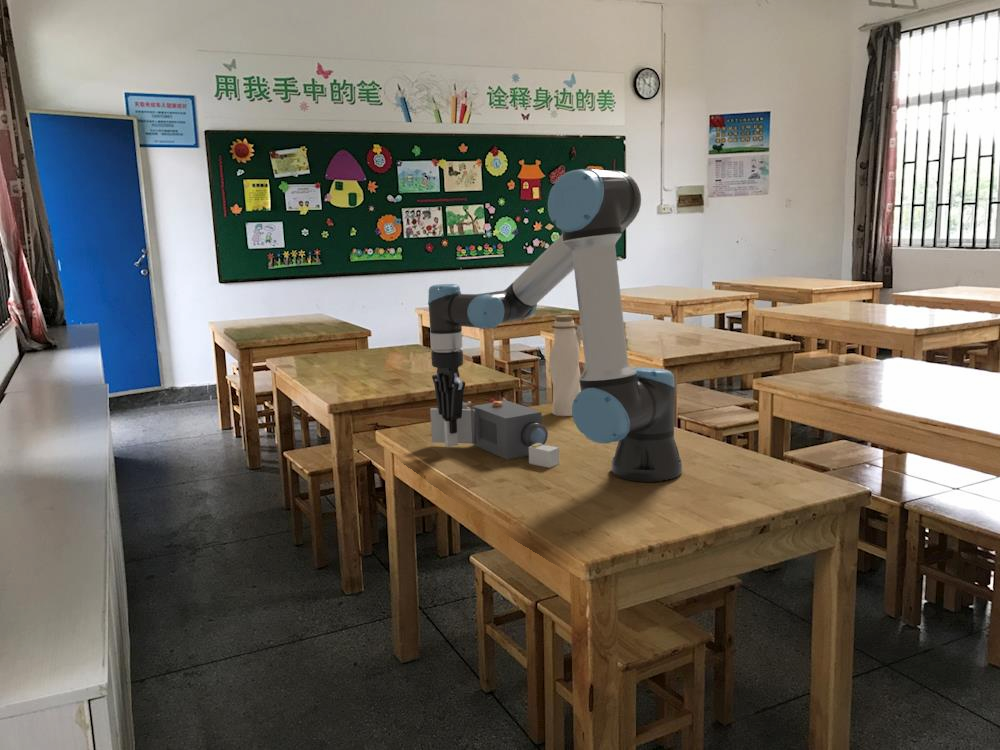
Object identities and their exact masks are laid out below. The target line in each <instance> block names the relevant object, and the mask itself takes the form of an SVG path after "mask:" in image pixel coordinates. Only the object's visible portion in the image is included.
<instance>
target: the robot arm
mask: <svg viewBox="0 0 1000 750" xmlns="http://www.w3.org/2000/svg"><path fill="white" fill-rule="evenodd" d="M547 198H548V200H547V211H548V216H549V218H550V221H551V222H552V223H553V224H555V226H556V228H557V229H560V230H561V235H560V236H559V237H558V238H557V239H556V240H555V241H554V242H553V243H551V244H550V246H548V248H547V249H545V250H544V252H542V253H541V254H540V255H539V256H538V257H537V259H535V260H533V262H532V263H531V264H530V265H529V266H528V267H527V268H526V269H525V270H524V271H523V272H522V273H521V274H520V275H519V276H518V277H516V279H515V280H514V281H513V282H512V283H511V284H510V285H509V286H508V287H506V288H505V289H504V290H499V291H497V290H496V291H490V292H485V293H477V294H476V293H475V294H473V293H465V294H464V293H462V291H461V286H460V285H458V284H456V283H443V284H440V283H439V284H434V285H431V286H429V288H428V298H427V299H428V302H427V305H428V315H429V329H430V331H429V338H430V339H429V340H430V349H431V350H432V351H431V357H430V358H431V366H432V368H437V370H436V374H434V375H432V376H431V377H432V383H433V384H434V390H435V398H436V404H437V405H436V406H437V408H438V411H439V415H442V418H443V419H444V433H445V443H444V446H445V447H447V448H448V447H449V448H450V447H455V446H459V443H458V437H457V419H459V418H462V405H463V402H464V391H465V387H466V382H465V381H464V380H461V379H460V372H459V371H460V370H459V367H461V366H463V365H464V350H462V347H463V337H464V334H462V331H463V328H462V327H469V328H478V329H480V330H481V329H482V330H484V329H494V328H497V327H498V326H499V325H500V324H504V323H509V322H510V323H511V322H514V321H516V322H518V321H523V320H525V319H528V318H530V317H531V316H533V315H534V314H535V312H536V308H537V307H538V303H539V302H540V301H541V300H543V299H544V297H546V296H547V295H548V294H549V293H550V292H551V291H552V290H553V289H554V288H555V287H557V286H558V285H559V284H560V283H561V282H562V281H563V280H564V279H566V277H567V276H569V275H570V274H571V273H572V272H573V271H574V279H575V287H576V288H575V289H576V297H577V305H578V313H579V314H578V315H579V322H580V326H581V338H582V339H581V342H582V347H583V348H582V349H583V355H584V356H583V357H584V358H583V359H584V365H585V367H584V370H583V372H582V373H580V377H579V381H580V389H581V392H579V393H578V395H577V396H576V398H575V400H574V401H573V404H572V416H571V417H572V420H573V422H574V424H575V426H576V428H577V429H578V430H579V432H580V433H581V434H583V436H584V437H585V438H586V439H588V440H590V441H592V442H594V443H597V444H604V445H605V444H610V443H613V442H615V443H616V442H617V446H616V449H615V453H614V455H613V458H612V460H611V472H612V474H613V475H615V476H616V477H618V478H620V479H624V480H627V481H633V482H634V481H635V482H640V483H641V482H644V483H645V482H646V483H652V482H653V483H654V482H655V481H656V483H657V481H658V482H664V481H663V480H666V481H669V480H668V479H671V480H673V479H672V478H674V479H676V478H675V477H677V476H678V477H680V476H681V475H682V474H681V473H682V472H683V462H682V461H683V460H682V459H681V457H680V454H679V453H680V452H679V450H678V447H677V443H676V441H675V397H676V396H675V390H676V385H675V376H674V374H673V372H672V371H670V370H668V369H663V368H655V367H643V366H642V367H641V366H639V367H638V366H631V365H630V364H629V359H628V350H627V342H626V333H625V332H626V331H625V324H624V314H623V306H622V304H623V303H622V295H621V287H620V277H619V268H618V260H617V258H618V257H617V251H616V244H617V242H618V241H619V240H620V238H621V237H622V233H623V232H624V231H625V230H626V229H627V228H628V227H629V226H630V225H631V224H632V223H633V222H634V220H635V219H636V218H637V216H638V215H639V212H640V208H641V205H642V195H641V191H640V187H639V185H638V184H637V182H636V180H635V179H634V178H633V177H632V176H630V175H629V174H627V173H625V172H624V171H620V170H615V169H609V170H605V169H591V168H580V169H574V170H569V171H567V172H565V173H563V174H562V175H560V176H559V178H557V180H556V181H555V183H554V185H552V187H551V189H550V191H549V194H548V197H547ZM680 474H681V475H680ZM679 475H680V476H679ZM678 477H677V478H678Z"/></svg>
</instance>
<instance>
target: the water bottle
mask: <svg viewBox="0 0 1000 750" xmlns="http://www.w3.org/2000/svg"><path fill="white" fill-rule="evenodd" d="M550 327H551V328H552V329H554V330H553V331H554V334H553V335H554V336H553V337H554V340H553V341H554V342H553V344H552V347H551V348H550V351H549V356H548V369H549V374H550V379H551V381H552V411H551V412H552V415H554V416H557V417H573V416H572V404H573V401H574V400H575V398H576V396H577V395H578V393H579V392H581V389H580V381H579V377H580V376H581V370H580V366H579V365H580V351H582V350H581V348H582V347H581V344H582V343H581V342H582V339H581V338H582V332H581V324H580V325H579V324H576V323H575V321H574V315H572V314H560V315H556V316H555V320H554V324H552V325H550Z"/></svg>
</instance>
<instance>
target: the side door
mask: <svg viewBox="0 0 1000 750" xmlns="http://www.w3.org/2000/svg"><path fill="white" fill-rule="evenodd" d="M429 412H430V431H431V443H444V444H445V433H444V419H443V418H442V415H439V411H438V407H437V408H434V407H431V408H430V409H429ZM457 437H458V444H468V445H469V444H470V445H471V444H472V445H474V444H477V437H476V412H475V410H474V409H472V408H470V409H466V408H463V409H462V418H459V419H457Z"/></svg>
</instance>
